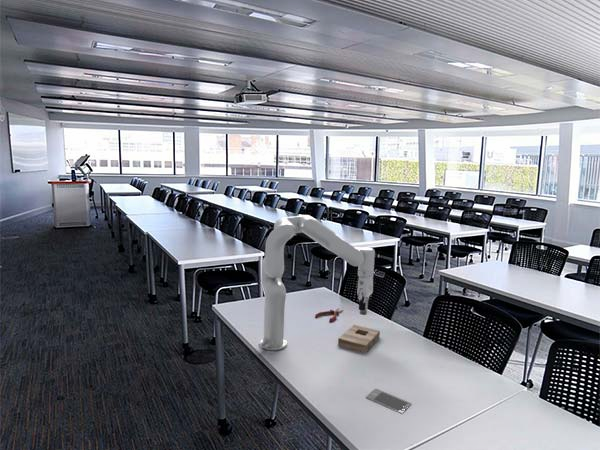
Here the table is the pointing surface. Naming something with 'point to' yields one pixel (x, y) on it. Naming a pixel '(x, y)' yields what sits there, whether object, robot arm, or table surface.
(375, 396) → the smartphone
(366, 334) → the socket block
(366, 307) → the pin
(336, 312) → the pliers
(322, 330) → the table surface
